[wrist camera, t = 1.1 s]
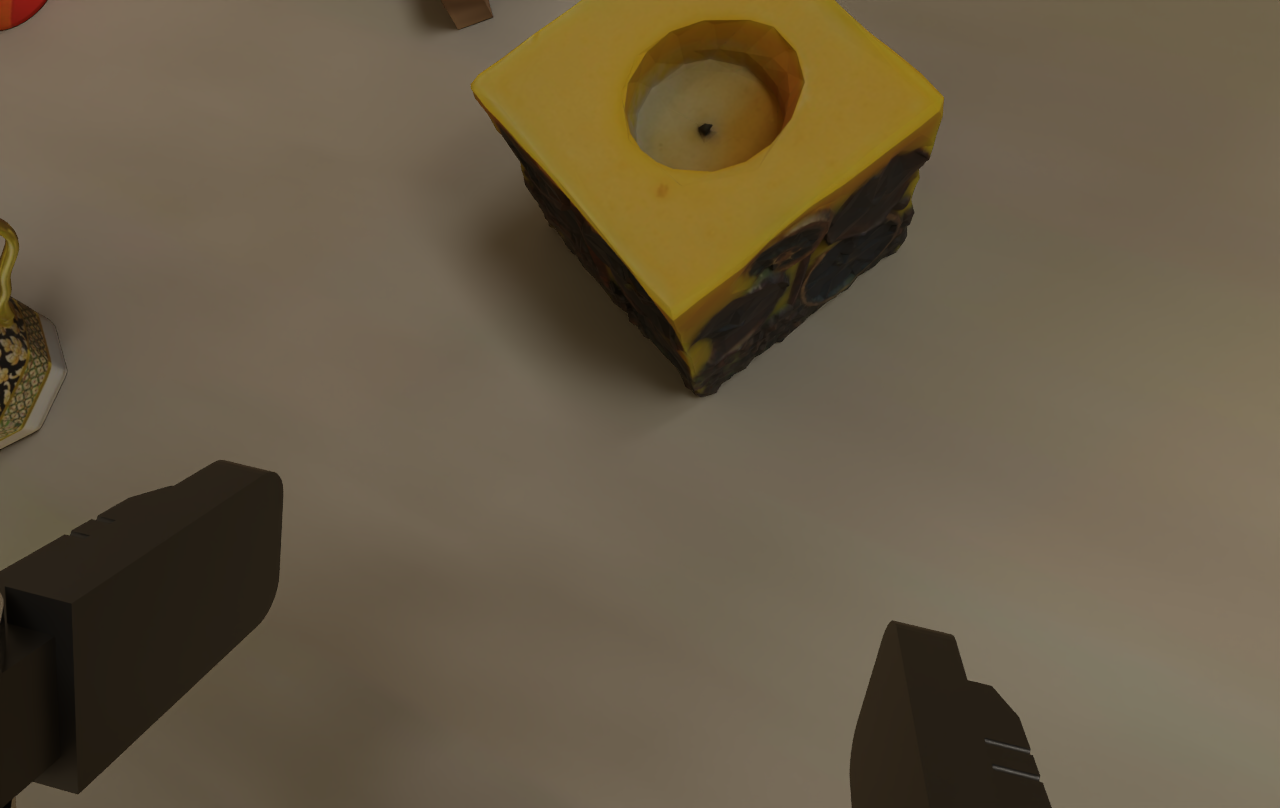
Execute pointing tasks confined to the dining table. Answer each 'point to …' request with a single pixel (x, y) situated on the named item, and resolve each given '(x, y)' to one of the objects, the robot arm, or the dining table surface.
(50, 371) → the ceramic cup
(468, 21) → the brown rectangular block structure
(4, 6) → the paper cup
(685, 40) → the candle
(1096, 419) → the dining table surface
